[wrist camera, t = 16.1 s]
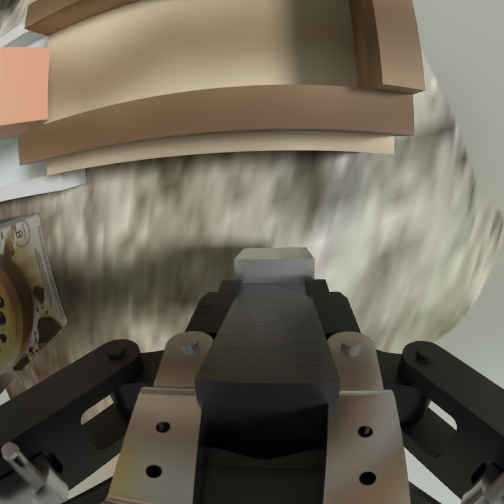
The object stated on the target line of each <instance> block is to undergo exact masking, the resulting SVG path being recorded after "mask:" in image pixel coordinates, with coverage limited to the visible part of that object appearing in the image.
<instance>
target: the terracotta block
mask: <svg viewBox="0 0 504 504" xmlns="http://www.w3.org/2000/svg"><path fill="white" fill-rule="evenodd" d="M49 58H50V48H44V47H0V139H3V138H9V137H15V136H18V134H19V133H22V132H24V131H27V130H30V129H33V128H34V127H36V126H37V125H39V124H41V123H43V122H44V121H46V120H48V73H49Z"/></svg>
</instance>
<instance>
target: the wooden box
mask: <svg viewBox="0 0 504 504" xmlns="http://www.w3.org/2000/svg"><path fill="white" fill-rule="evenodd" d="M24 29H26V30H30V31H33V32H36V33H40V34H43V35H46V36H48V41H47V48H50V58H49V73H48V120H46V121H44V125H41V126H38V127H35V128H33V129H30V130H27V131H24V132H22V133H19V134H18V150H19V164H20V166H22V165H27V164H32V163H38V162H43V161H46V165H47V175H52V174H57V173H62V172H67V171H72V170H78V169H83V168H89V167H95V166H101V165H107V164H114V163H121V162H128V161H136V160H144V159H152V158H161V157H171V156H181V155H193V154H206V153H221V152H240V151H272V150H321V151H352V152H371V153H386V154H394V136H414V108H413V94H415V93H419V92H422V91H425V82H424V72H423V63H422V54H421V47H420V40H419V34H418V28H417V22H416V17H415V12H414V8H413V3H412V0H36V1H35V2H33V3H31V4H30V5H29V6H28V11H27V16H26V21H25V27H24Z"/></svg>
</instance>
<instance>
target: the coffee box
mask: <svg viewBox="0 0 504 504" xmlns="http://www.w3.org/2000/svg"><path fill="white" fill-rule="evenodd" d="M66 324H67V319H66V316H65V313H64V310H63V307H62V304H61V301H60V298H59V295H58V291H57V288H56V285H55V281H54V278H53V274H52V270H51V266H50V263H49V258H48V254H47V250H46V246H45V241H44V236H43V231H42V226H41V221H40V216H39V214H32V215H25V216H18V217H12V218H6V219H0V394H1V393H2V392H3V391H4V389H5V388H6V387H7V386H8V385H9V384H10V383H11V382H12V381H13V379H14V378H15V377H16V376H17V375H18V374H19V373H20V372H21V370H22V369H23V368H24V367H25V366H26V365H27V364H28V363H29V362H30V361H31V360H32V359H33V358H34V357H35V356H36V355H37V354H38V352H39V351H40V350H41V349H42V348H43V347H44V346H45V345H46V344H47V343H48V342H49V341H50V340H51V339H52V338H53V337H54V336H55V335H56V334H57V333H58V332H59V331H60V330H61V329H62V328H63V327H64V326H65V325H66Z"/></svg>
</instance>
